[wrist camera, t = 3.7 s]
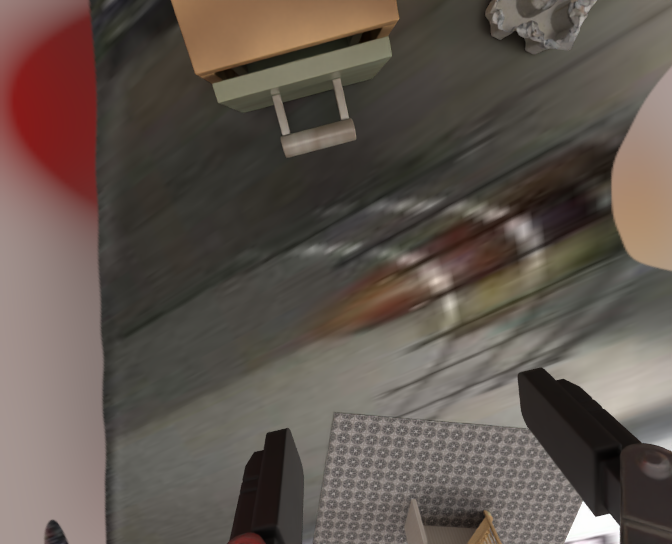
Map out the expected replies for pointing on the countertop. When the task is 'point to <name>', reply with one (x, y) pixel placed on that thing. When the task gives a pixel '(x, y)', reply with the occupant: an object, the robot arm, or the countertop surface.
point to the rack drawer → (306, 86)
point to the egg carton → (539, 21)
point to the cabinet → (272, 28)
